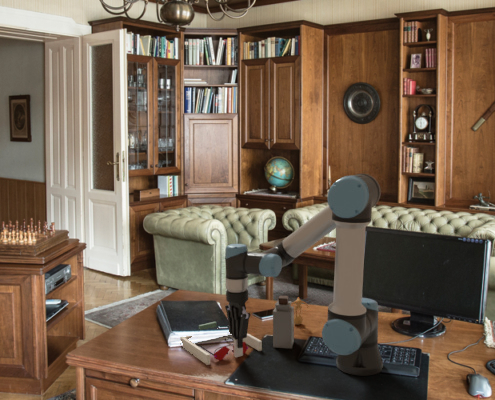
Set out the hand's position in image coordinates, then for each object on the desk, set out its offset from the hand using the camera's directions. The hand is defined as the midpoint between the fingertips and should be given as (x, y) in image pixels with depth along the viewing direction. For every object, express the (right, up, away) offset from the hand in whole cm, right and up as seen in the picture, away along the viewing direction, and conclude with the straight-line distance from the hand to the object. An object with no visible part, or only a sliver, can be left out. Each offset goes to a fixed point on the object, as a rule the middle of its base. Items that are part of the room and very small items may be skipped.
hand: (238, 355), depth 192 cm
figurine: (+24, +3, +33) cm, 41 cm away
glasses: (-7, -1, +8) cm, 11 cm away
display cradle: (-7, 0, +10) cm, 12 cm away
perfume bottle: (+16, 0, +13) cm, 21 cm away
